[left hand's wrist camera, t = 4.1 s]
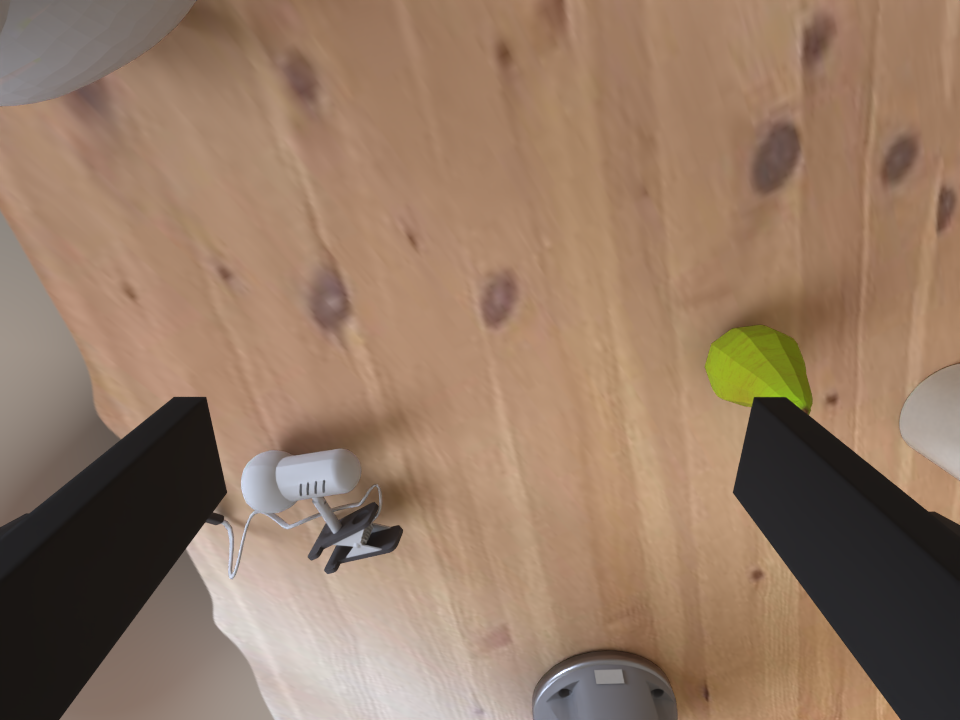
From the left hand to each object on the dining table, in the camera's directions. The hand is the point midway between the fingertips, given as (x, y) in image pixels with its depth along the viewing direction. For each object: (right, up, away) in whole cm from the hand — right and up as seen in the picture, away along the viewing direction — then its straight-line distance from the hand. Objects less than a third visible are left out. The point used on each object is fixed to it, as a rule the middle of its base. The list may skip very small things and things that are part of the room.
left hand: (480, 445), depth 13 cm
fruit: (+20, +3, +29) cm, 36 cm away
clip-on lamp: (-17, -10, +34) cm, 39 cm away
